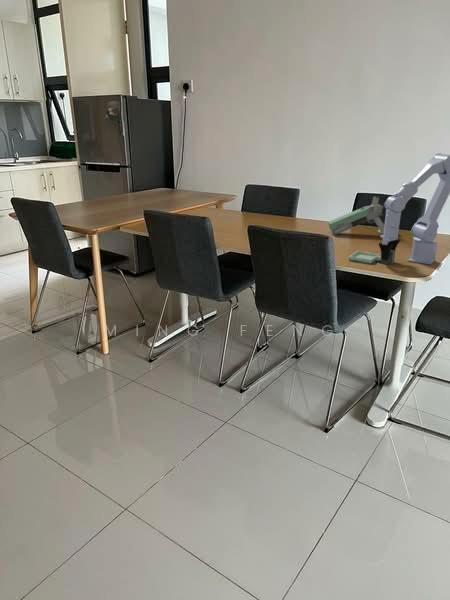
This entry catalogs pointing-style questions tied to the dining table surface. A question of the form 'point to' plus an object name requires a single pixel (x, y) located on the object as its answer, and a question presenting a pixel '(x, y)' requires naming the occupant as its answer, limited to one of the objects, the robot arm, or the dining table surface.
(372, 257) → the tray
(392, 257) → the plug
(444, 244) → the dining table surface
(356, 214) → the long mint green beam
